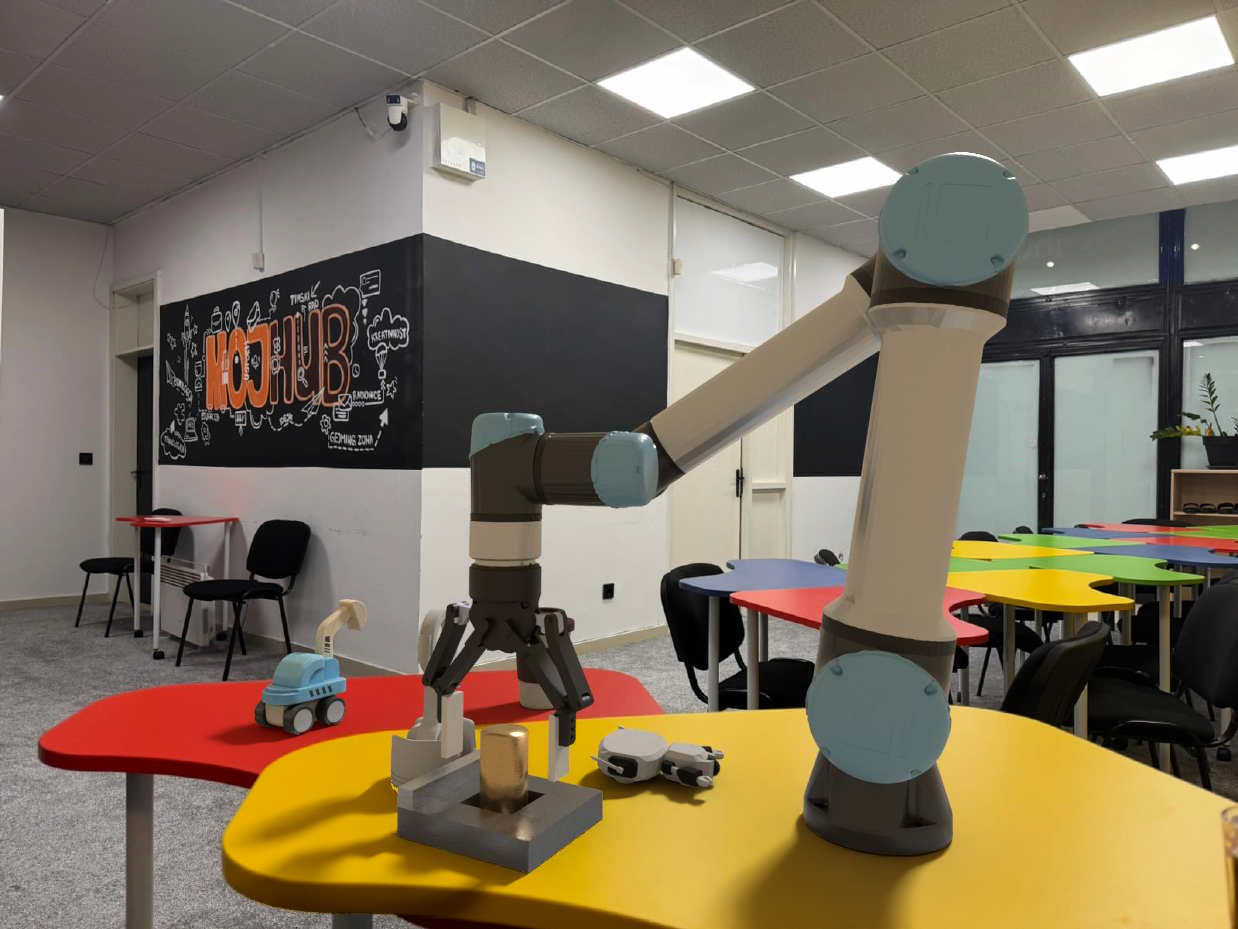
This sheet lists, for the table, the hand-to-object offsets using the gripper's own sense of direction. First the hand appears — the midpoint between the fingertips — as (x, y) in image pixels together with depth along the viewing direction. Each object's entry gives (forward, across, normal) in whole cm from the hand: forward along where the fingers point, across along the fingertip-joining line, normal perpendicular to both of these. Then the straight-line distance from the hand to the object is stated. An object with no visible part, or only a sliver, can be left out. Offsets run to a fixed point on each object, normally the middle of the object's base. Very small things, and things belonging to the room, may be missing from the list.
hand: (503, 765), depth 87 cm
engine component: (+7, +15, -7) cm, 18 cm away
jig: (+6, 0, 0) cm, 6 cm away
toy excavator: (+7, +46, -17) cm, 49 cm away
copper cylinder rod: (+6, 0, 0) cm, 6 cm away
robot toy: (+7, -8, -21) cm, 24 cm away
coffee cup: (+7, +22, -41) cm, 47 cm away
